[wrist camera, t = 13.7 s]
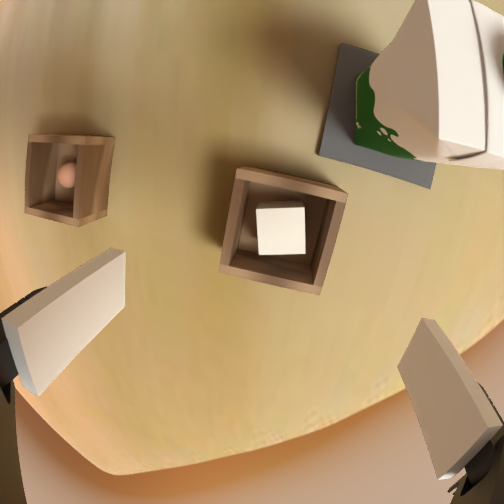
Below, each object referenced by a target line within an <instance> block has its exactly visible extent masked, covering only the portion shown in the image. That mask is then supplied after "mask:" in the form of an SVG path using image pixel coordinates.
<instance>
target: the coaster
mask: <svg viewBox="0 0 504 504" xmlns="http://www.w3.org/2000/svg"><path fill="white" fill-rule="evenodd" d="M379 55H380V54H377V53H374V52H371V51H368V50H365V49H361V48H358V47H354V46H351V45H347V44H344V43H341V44H340V47H339V53H338V59H337V65H336V70H335V76H334V81H333V86H332V91H331V97H330V102H329V107H328V112H327V117H326V122H325V127H324V131H323V136H322V141H321V146H320V150H319V156H323V157H326V158H330V159H334V160H338V161H342V162H345V163H349V164H353V165H356V166H360V167H363V168H367V169H370V170H373V171H377V172H380V173H383V174H386V175H389V176H393V177H396V178H399V179H402V180H405V181H408V182H411V183H414V184H417V185H419V186H422V187H425V188H428V189H430V188H431V184H432V180H433V175H434V171H435V166H436V162H425V161H417V160H410V159H404V158H399V157H394V156H390V155H387V154H384V153H381V152H378V151H375V150H371V149H368V148H365V147H361V146H358V145H355V112H356V83H355V76H357V75H358V74H360V73H361V72H363V71H364V70H366V69H367V68H368V67H369V66H370V65H371V64H372V63H373V61H374V60H375V59H376V58H377V57H378V56H379Z"/></svg>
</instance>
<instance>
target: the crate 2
mask: <svg viewBox="0 0 504 504" xmlns="http://www.w3.org/2000/svg"><path fill="white" fill-rule="evenodd" d="M347 197H348V193H346V192H345V191H343V190H342V189H340V188H339V187H337V186H333V185H329V184H325V183H321V182H317V181H313V180H309V179H304V178H300V177H296V176H292V175H287V174H283V173H278V172H273V171H269V170H264V169H259V168H254V167H249V166H244V167H240V168H237V170H236V175H235V181H234V186H233V191H232V197H231V202H230V208H229V213H228V219H227V224H226V230H225V235H224V241H223V247H222V253H221V259H220V265H219V270H218V272H219V273H223V274H227V275H232V276H236V277H240V278H244V279H249V280H253V281H257V282H262V283H266V284H271V285H275V286H279V287H284V288H288V289H293V290H297V291H302V292H307V293H311V294H316V295H320V292H321V289H322V286H323V283H324V280H325V276H326V273H327V270H328V266H329V263H330V259H331V256H332V253H333V249H334V246H335V242H336V238H337V235H338V231H339V227H340V224H341V220H342V216H343V212H344V209H345V205H346V201H347ZM300 200H302V201H303V204H304V209H305V254H281V255H259V249H258V234H257V218H256V208H257V207H258V205H259V203H260V202H271V201H300Z"/></svg>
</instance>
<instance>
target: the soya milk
mask: <svg viewBox="0 0 504 504" xmlns="http://www.w3.org/2000/svg"><path fill="white" fill-rule="evenodd" d="M355 83H356V112H355V145H358V146H361V147H365V148H368V149H371V150H375V151H378V152H381V153H384V154H387V155H390V156H394V157H399V158H404V159H410V160H417V161H425V162H436V163H445V164H454V165H462V166H470V167H478V168H493V169H502V170H504V16H502V15H500V14H498V13H496V12H494V11H493V10H491V9H489V8H488V7H487V6H485V5H483V4H481V3H479V2H476V1H474V0H415V2H414V4H413V5H412V7H411V9H410V11H409V13H408V15H407V16H406V18H405V20H404V22H403V24H402V25H401V27H400V29H399V31H398V32H397V34H396V36H395V38H394V39H393V40H392V42H391V43H390V44H389V45H388V46H387V47H386V48H385V49H384V51H383V52H382V53H381V54H380V55H379V56H378V57H377V58H376V59H375V60H374V61H373V63H372V64H371V65H370V66H369V67H368V68H367V69H366V70H364V71H363V72H361V73H360V74H358V75H357V76H355Z"/></svg>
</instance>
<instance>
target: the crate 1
mask: <svg viewBox="0 0 504 504" xmlns="http://www.w3.org/2000/svg"><path fill="white" fill-rule="evenodd" d="M114 141H115V137H103V136H88V135H69V134H38V135H29V139H28V148H27V159H26V175H25V213H26V214H30V215H34V216H38V217H41V218H45V219H49V220H53V221H57V222H61V223H64V224H68V225H72V226H76V227H80V226H83V225H85V224H88V223H90V222H92V221H95V220H97V219H100V218H102V217H105V216H107V205H108V193H109V182H110V172H111V164H112V156H113V148H114ZM70 161H72V162H75V163H77V164H76V175H75V186H74V187H71V188H66V187H64V186H62V185H61V184H60V182H59V180H58V171H59V169H60V167H61V166H62V165H63V164H64V163H66V162H70Z"/></svg>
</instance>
